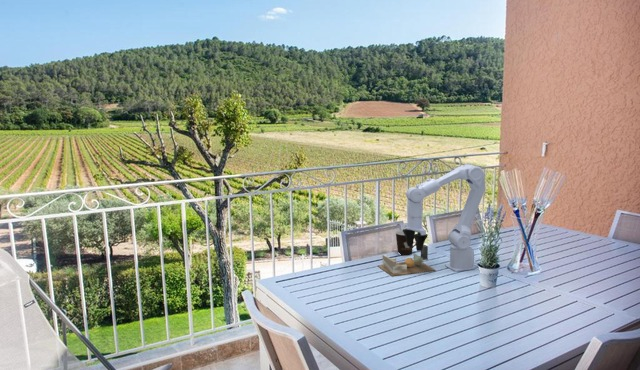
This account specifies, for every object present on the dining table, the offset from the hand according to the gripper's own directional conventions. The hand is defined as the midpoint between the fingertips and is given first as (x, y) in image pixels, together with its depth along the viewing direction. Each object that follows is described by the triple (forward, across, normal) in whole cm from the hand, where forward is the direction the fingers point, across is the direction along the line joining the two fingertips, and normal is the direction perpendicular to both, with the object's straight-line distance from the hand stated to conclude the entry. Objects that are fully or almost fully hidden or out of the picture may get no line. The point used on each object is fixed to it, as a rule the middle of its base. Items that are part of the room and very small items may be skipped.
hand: (414, 248), depth 200 cm
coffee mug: (+10, -22, +9) cm, 26 cm away
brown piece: (+10, -3, -2) cm, 10 cm away
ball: (+7, -3, -1) cm, 8 cm away
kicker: (+8, -3, +5) cm, 10 cm away
